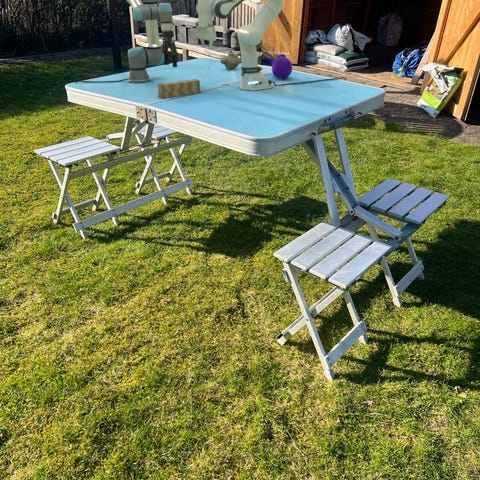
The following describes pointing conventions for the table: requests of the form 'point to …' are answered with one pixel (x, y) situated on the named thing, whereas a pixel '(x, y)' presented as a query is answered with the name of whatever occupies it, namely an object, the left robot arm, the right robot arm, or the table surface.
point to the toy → (280, 66)
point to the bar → (178, 88)
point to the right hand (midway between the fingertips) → (207, 47)
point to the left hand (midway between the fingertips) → (170, 65)
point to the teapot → (231, 60)
